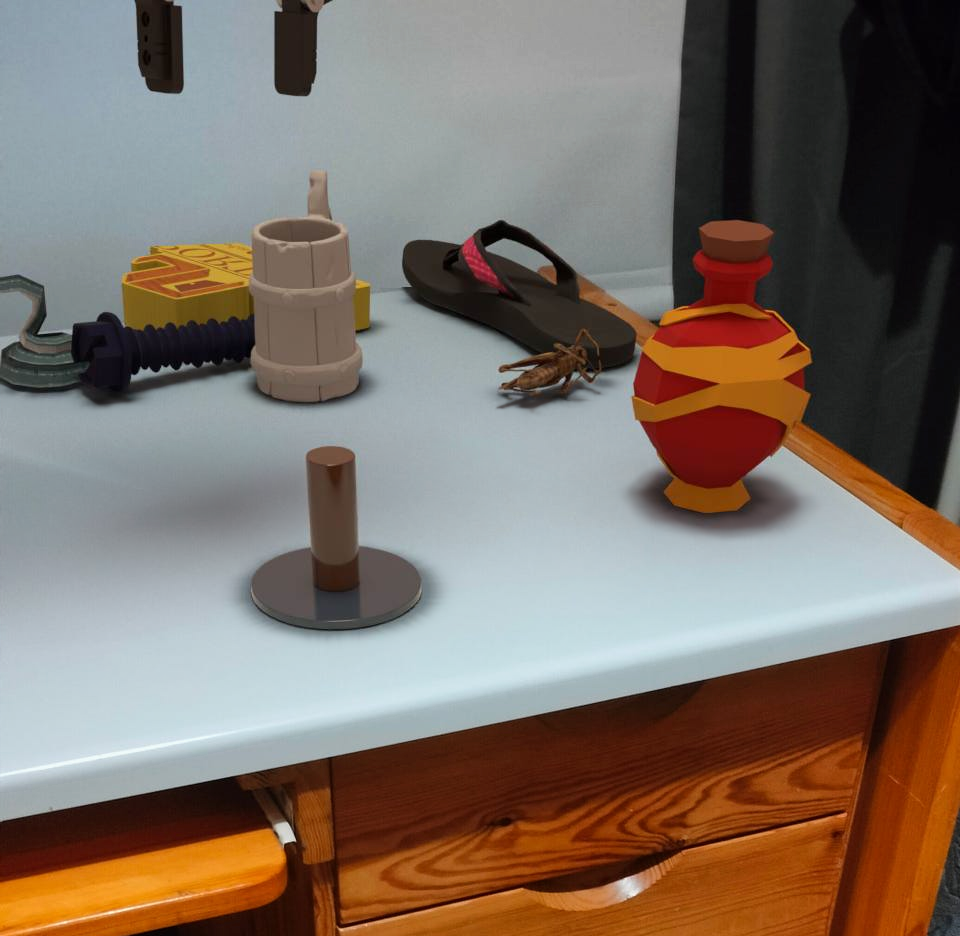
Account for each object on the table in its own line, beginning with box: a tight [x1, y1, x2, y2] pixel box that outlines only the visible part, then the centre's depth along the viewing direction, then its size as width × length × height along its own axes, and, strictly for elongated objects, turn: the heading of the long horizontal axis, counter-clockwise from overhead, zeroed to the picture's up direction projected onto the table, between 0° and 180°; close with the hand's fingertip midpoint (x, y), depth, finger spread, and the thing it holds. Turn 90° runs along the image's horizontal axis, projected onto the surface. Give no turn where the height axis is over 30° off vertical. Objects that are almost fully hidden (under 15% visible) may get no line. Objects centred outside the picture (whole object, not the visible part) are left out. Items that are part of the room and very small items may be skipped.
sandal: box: [401, 219, 638, 370], centre depth 122 cm, size 10×25×6 cm, turn 34°
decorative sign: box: [120, 242, 371, 331], centre depth 122 cm, size 20×3×15 cm
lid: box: [250, 445, 423, 630], centre depth 88 cm, size 9×9×8 cm
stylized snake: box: [0, 274, 90, 389], centre depth 113 cm, size 7×20×6 cm, turn 121°
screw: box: [71, 311, 256, 394], centre depth 114 cm, size 18×5×5 cm
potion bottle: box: [630, 219, 813, 514], centre depth 95 cm, size 10×10×15 cm
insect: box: [497, 319, 602, 396], centre depth 112 cm, size 4×8×5 cm
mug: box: [249, 169, 364, 403], centre depth 111 cm, size 8×12×12 cm, turn 172°
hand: (230, 94), depth 84 cm, fingers open, 8 cm apart
